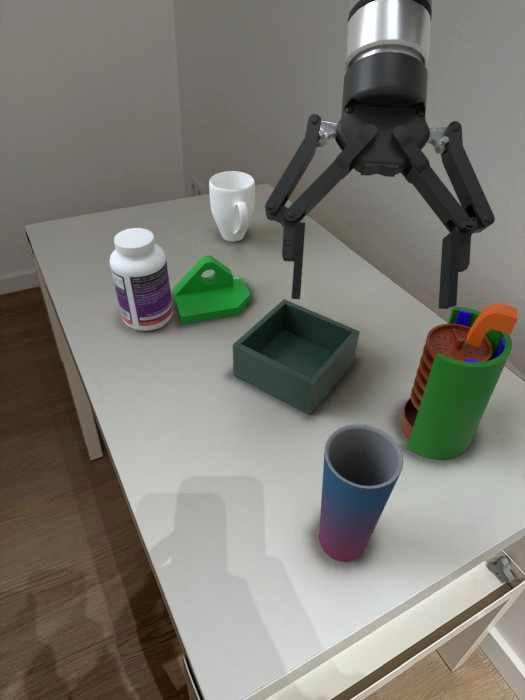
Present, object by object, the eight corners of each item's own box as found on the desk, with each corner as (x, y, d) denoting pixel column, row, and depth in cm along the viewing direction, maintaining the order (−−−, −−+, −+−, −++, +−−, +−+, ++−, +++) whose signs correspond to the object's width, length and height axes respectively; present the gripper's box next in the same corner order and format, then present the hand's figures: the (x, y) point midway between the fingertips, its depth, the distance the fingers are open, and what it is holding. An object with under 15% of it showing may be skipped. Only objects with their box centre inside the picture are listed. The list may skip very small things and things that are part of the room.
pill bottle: (181, 306, 84) (172, 227, 74) (162, 337, 78) (150, 256, 68) (134, 298, 85) (119, 220, 75) (113, 329, 79) (94, 248, 70)
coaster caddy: (400, 393, 71) (436, 270, 57) (467, 404, 69) (520, 281, 56) (399, 453, 63) (440, 328, 50) (475, 466, 62) (538, 342, 48)
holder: (354, 361, 75) (360, 331, 71) (309, 415, 67) (313, 384, 63) (282, 328, 80) (283, 298, 76) (233, 375, 73) (232, 344, 69)
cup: (363, 505, 58) (387, 419, 48) (383, 564, 53) (415, 482, 43) (304, 514, 57) (316, 428, 47) (319, 575, 52) (336, 493, 42)
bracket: (181, 324, 81) (177, 288, 76) (173, 295, 86) (168, 260, 81) (254, 311, 83) (255, 276, 79) (242, 284, 89) (242, 250, 84)
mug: (207, 228, 103) (204, 173, 95) (247, 223, 105) (247, 168, 97) (222, 260, 94) (220, 202, 87) (265, 253, 96) (267, 196, 89)
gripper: (505, 100, 50) (494, 315, 50) (252, 88, 52) (237, 298, 51) (544, 53, 43) (531, 305, 42) (247, 40, 44) (229, 286, 43)
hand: (370, 302), depth 46 cm, fingers open, 13 cm apart
